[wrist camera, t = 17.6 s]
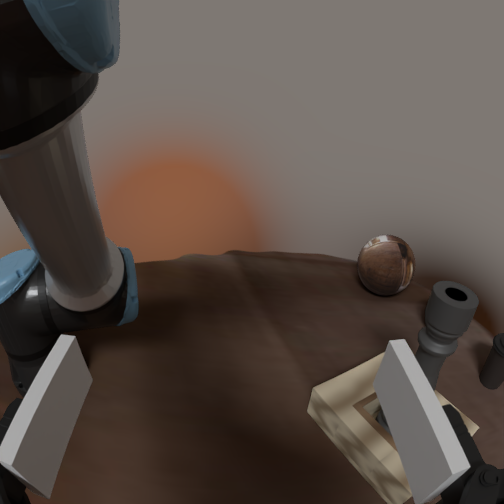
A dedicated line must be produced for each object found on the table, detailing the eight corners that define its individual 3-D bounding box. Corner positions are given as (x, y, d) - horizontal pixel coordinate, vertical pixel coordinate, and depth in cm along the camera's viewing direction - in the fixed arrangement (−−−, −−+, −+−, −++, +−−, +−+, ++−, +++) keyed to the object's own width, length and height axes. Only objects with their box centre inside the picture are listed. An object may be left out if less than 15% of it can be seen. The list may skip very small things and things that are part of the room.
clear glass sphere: (345, 277, 84) (353, 225, 77) (392, 275, 85) (403, 226, 78) (364, 309, 70) (377, 250, 64) (416, 305, 71) (432, 250, 65)
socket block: (306, 411, 45) (313, 386, 42) (378, 374, 52) (387, 349, 49) (394, 510, 27) (413, 494, 25) (461, 448, 34) (479, 426, 31)
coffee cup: (506, 396, 41) (531, 358, 37) (475, 391, 44) (499, 352, 40) (502, 369, 48) (522, 333, 43) (472, 364, 51) (492, 326, 46)
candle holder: (406, 417, 41) (470, 283, 30) (408, 448, 36) (488, 313, 25) (371, 414, 42) (425, 276, 32) (370, 446, 37) (438, 307, 26)
